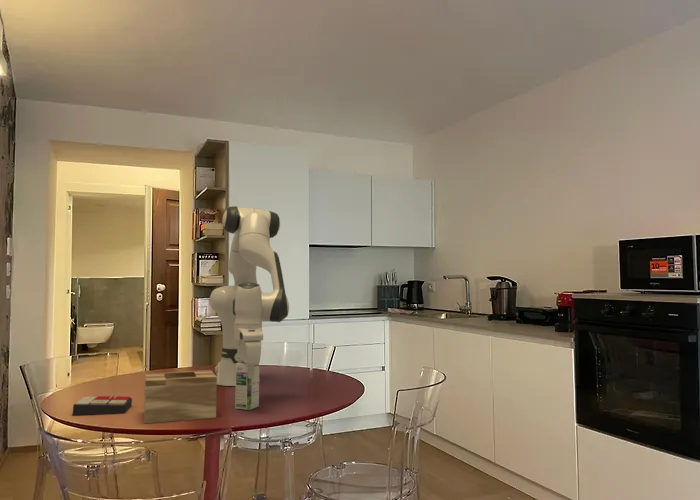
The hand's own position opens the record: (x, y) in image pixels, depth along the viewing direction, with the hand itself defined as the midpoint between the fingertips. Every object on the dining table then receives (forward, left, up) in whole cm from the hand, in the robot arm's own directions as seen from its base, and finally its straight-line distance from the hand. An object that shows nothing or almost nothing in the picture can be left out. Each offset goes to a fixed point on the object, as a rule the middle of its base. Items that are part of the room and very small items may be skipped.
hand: (247, 375), depth 175 cm
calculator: (-13, -43, -11) cm, 46 cm away
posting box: (+2, -21, -10) cm, 23 cm away
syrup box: (0, 0, -10) cm, 10 cm away
